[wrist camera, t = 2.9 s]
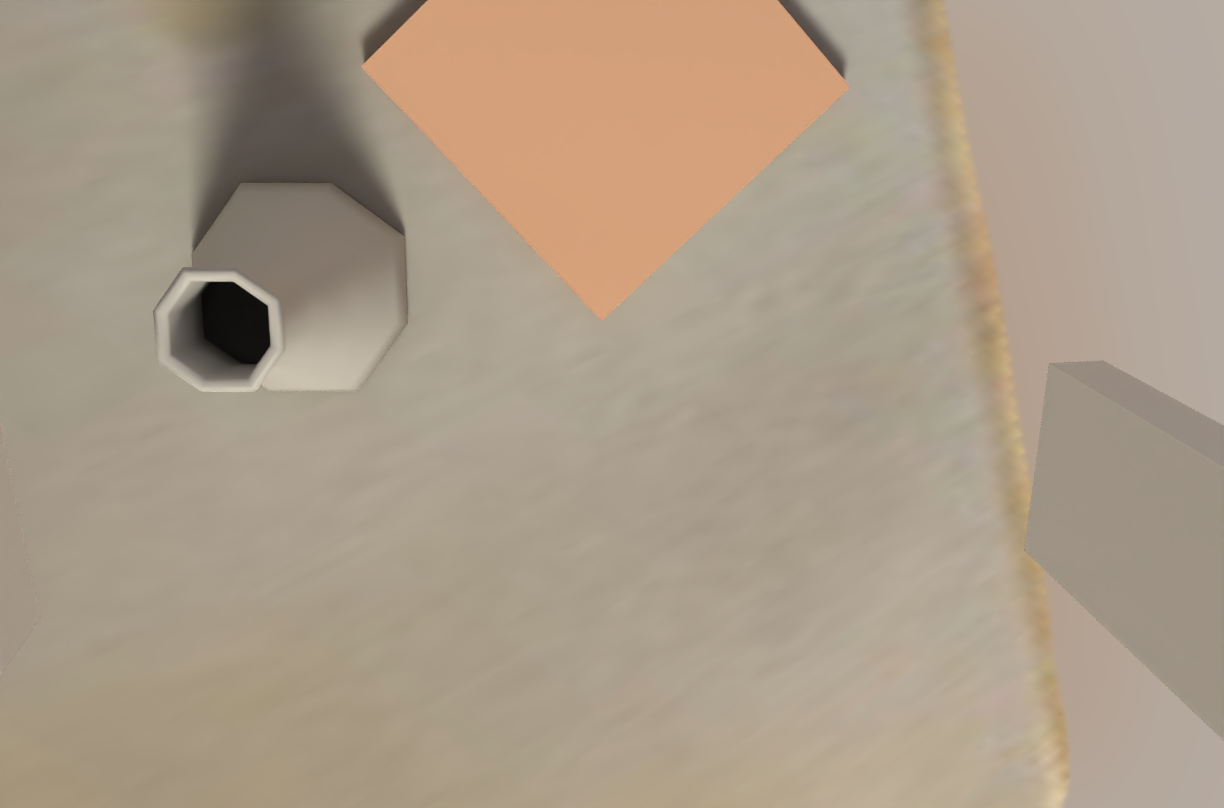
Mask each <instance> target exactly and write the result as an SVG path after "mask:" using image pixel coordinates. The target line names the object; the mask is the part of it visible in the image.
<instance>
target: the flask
mask: <svg viewBox="0 0 1224 808" xmlns="http://www.w3.org/2000/svg"><path fill="white" fill-rule="evenodd" d="M153 315H154V327H155V339H156V351H157V362H158V363H160V364H161V365H163V366H164V367H166V368H167V369H169V370H170V371H172V372H173V373H174V374H176V375H177V376H179V377H180V378H182V379H183V380H185V381H186V382H188V383H189V384H191V385H192V386H194V387H195V388H197V389H198V390H200V391H201V392H254V391H256V390H257V389H258V388H259V386H260V385H262V386H264V387H265V388H266V389H268V390H269V391H271V392H335V391H359V390H360V388H361V387H362V386H363V384H364V383H365V381H366V380H367V379H368V377H369V376H370V375H371V373H372V372H373V370H374V369H375V368H376V366H377V365H378V364H379V362H380V361H381V359H382V358H383V357H384V355H385V354H386V352H387V351H388V350H389V348H390V347H391V346H392V344H393V343H394V341H395V340H396V339H397V337H398V336H399V335H400V333H401V332H402V330H403V329H404V328H405V326H406V325H407V324H408V320H407V291H406V262H405V237H404V236H403V235H402V234H400V233H399V232H398V231H396V230H395V229H393V228H392V227H391V226H389V225H388V224H387V223H385V222H384V221H383V220H381V219H380V218H378V217H377V216H376V215H374V214H373V213H372V212H370V211H369V210H367V209H366V208H365V207H363V206H362V205H361V204H359V203H358V202H357V201H355V200H354V199H352V198H351V197H350V196H348V195H347V194H346V193H344V192H343V191H341V190H340V189H339V188H337V187H336V186H335V185H333V184H332V183H240V185H239V186H238V188H237V189H236V191H235V192H234V194H233V195H232V196H231V198H230V199H229V201H228V202H227V204H226V205H225V207H224V208H223V210H222V211H221V212H220V214H219V215H218V217H217V218H216V220H215V221H214V223H213V224H212V225H211V227H210V228H209V230H208V231H207V233H206V234H205V236H204V237H203V239H202V240H201V241H200V243H199V244H198V246H197V247H196V249H195V250H194V252H193V253H192V267H184V268H182V269H181V271H180V272H179V274H178V275H177V277H176V278H175V279H174V281H173V282H172V284H171V285H170V287H169V288H168V290H167V291H166V293H165V294H164V295H163V297H162V298H161V300H160V301H159V303H158V304H157V306H156V307H155V308H154V310H153Z"/></svg>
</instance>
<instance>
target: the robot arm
mask: <svg viewBox="0 0 1224 808" xmlns="http://www.w3.org/2000/svg"><path fill="white" fill-rule="evenodd" d="M1041 420H1042V421H1041V427H1040V435H1039V442H1038V451H1037V458H1036V465H1035V473H1034V480H1033V488H1032V496H1031V503H1030V511H1029V518H1028V526H1027V534H1026V541H1025V549H1024V551H1025V552H1026V553H1027V554H1028V555H1029V556H1030V557H1032V558H1033V559H1034V560H1035V561H1036V562H1037V563H1038V564H1039V565H1040V566H1041V567H1042V568H1043V569H1044V570H1045V571H1046V572H1047V573H1048V574H1049V575H1050V576H1052V577H1053V578H1054V579H1055V580H1056V581H1057V582H1058V583H1059V584H1060V585H1061V586H1062V587H1063V588H1064V589H1065V590H1066V591H1068V593H1069V594H1070V595H1071V596H1073V597H1074V598H1075V599H1076V600H1077V601H1078V602H1079V603H1080V604H1081V605H1082V606H1083V607H1084V608H1085V609H1086V610H1087V611H1088V612H1089V613H1090V614H1091V615H1092V616H1094V617H1095V618H1096V619H1097V620H1098V621H1099V622H1100V623H1101V624H1102V625H1103V626H1104V627H1105V628H1106V629H1107V630H1108V631H1109V632H1110V633H1111V634H1112V635H1114V636H1115V637H1116V638H1117V639H1118V640H1119V641H1120V642H1121V643H1122V644H1123V645H1124V646H1125V647H1126V648H1127V649H1128V650H1129V651H1130V652H1131V653H1132V654H1133V655H1134V656H1135V657H1137V658H1138V659H1139V660H1140V661H1141V662H1142V663H1143V664H1144V665H1145V666H1146V667H1147V668H1148V669H1149V670H1151V672H1152V673H1153V674H1154V675H1155V676H1157V677H1158V678H1159V679H1160V680H1161V681H1162V682H1163V683H1164V684H1165V685H1166V686H1167V687H1168V688H1169V689H1170V690H1171V691H1172V692H1173V693H1174V694H1175V695H1177V696H1178V697H1179V698H1180V699H1181V700H1182V701H1183V702H1184V703H1185V704H1186V705H1187V706H1188V707H1189V708H1190V709H1191V710H1192V711H1193V712H1194V713H1195V714H1196V715H1197V716H1198V717H1200V718H1201V719H1202V720H1203V721H1204V722H1205V723H1206V724H1207V725H1208V726H1209V727H1210V728H1211V729H1212V730H1213V731H1214V732H1215V733H1216V734H1217V735H1218V736H1220V737H1221V738H1222V739H1223V740H1224V426H1223V425H1221V424H1219V423H1218V422H1216V421H1214V420H1212V419H1210V418H1209V417H1207V416H1205V415H1203V414H1201V413H1199V412H1197V411H1195V410H1194V409H1192V408H1190V407H1188V406H1186V405H1184V404H1183V403H1181V402H1179V401H1177V400H1175V399H1173V398H1171V397H1170V396H1168V395H1166V394H1164V393H1162V392H1160V391H1158V390H1157V389H1155V388H1153V387H1151V386H1149V385H1147V384H1146V383H1144V382H1142V381H1140V380H1138V379H1136V378H1134V377H1133V376H1131V375H1129V374H1127V373H1125V372H1123V371H1121V370H1120V369H1118V368H1116V367H1114V366H1112V365H1110V364H1108V363H1107V362H1105V361H1086V362H1064V363H1049V366H1048V374H1047V381H1046V389H1045V396H1044V404H1043V412H1042V419H1041ZM39 619H40V613H39V608H38V603H37V599H36V594H35V589H34V584H33V579H32V574H31V569H30V564H29V559H28V554H27V550H26V545H25V540H24V535H23V530H22V525H21V520H20V515H19V510H18V505H17V501H16V496H15V491H14V486H13V481H12V476H11V471H10V466H9V461H8V456H7V451H6V447H5V442H4V437H3V432H2V427H1V422H0V675H1V674H2V673H3V671H4V670H5V668H6V667H7V665H8V664H9V663H10V661H11V660H12V658H13V657H14V655H15V654H16V652H17V651H18V650H19V648H20V647H21V645H22V644H23V642H24V641H25V639H26V638H27V637H28V635H29V634H30V632H31V631H32V629H33V628H34V626H35V625H36V624H37V622H38V621H39Z"/></svg>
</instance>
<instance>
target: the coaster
mask: <svg viewBox="0 0 1224 808" xmlns="http://www.w3.org/2000/svg"><path fill="white" fill-rule="evenodd" d="M361 67H362V68H363V69H364V70H365V71H366V73H367V74H368V75H369V76H370V77H371V78H372V79H373V80H374V81H375V82H376V83H377V84H378V85H379V86H380V87H381V88H382V89H383V90H384V92H385V93H386V94H387V95H388V96H389V97H390V98H391V99H392V100H393V101H394V102H395V103H396V104H397V105H398V106H399V107H400V108H401V109H402V111H403V112H404V113H405V114H406V115H407V116H408V117H409V118H410V119H411V120H412V121H413V122H414V123H415V124H416V125H417V126H418V127H419V128H420V130H421V131H422V132H423V133H424V134H425V135H426V136H427V137H428V138H429V139H430V140H431V141H432V142H433V143H434V144H435V145H436V146H437V147H438V149H439V150H440V151H441V152H442V153H443V154H444V155H445V156H446V157H447V158H448V159H449V160H450V161H451V162H452V163H453V164H454V165H455V166H456V168H457V169H458V170H459V171H460V172H461V173H462V174H463V175H464V176H465V177H466V178H467V179H468V180H469V181H470V182H471V183H472V184H473V185H474V187H475V188H476V189H477V190H478V191H479V192H480V193H481V194H482V195H483V196H484V197H485V198H486V199H487V200H488V201H489V202H490V203H491V204H492V206H493V207H494V208H495V209H496V210H497V211H498V212H499V213H500V214H501V215H502V216H503V217H504V218H505V219H506V220H507V221H508V222H509V223H510V225H511V226H512V227H513V228H514V229H515V230H516V231H517V232H518V233H519V234H520V235H521V236H522V237H523V238H524V239H525V240H526V241H527V242H528V244H529V245H530V246H531V247H532V248H533V249H534V250H535V251H536V252H537V253H538V254H539V255H540V256H541V257H542V258H543V259H544V260H545V261H546V263H547V264H548V265H549V266H550V267H551V268H552V269H553V270H554V271H555V272H556V273H557V274H558V275H559V276H560V277H561V278H562V279H563V280H564V282H565V283H566V284H567V285H568V286H569V287H570V288H571V289H572V290H573V291H574V292H575V293H576V294H577V295H578V296H579V297H580V298H581V299H582V301H583V302H584V303H585V304H586V305H587V306H588V307H589V308H590V309H591V310H592V311H593V312H594V313H595V314H596V315H597V316H598V317H599V318H600V320H601V321H602V320H603V319H604V318H605V317H606V316H607V315H608V314H609V313H610V312H611V311H613V310H614V309H615V308H616V307H617V306H618V305H619V304H620V303H621V302H622V301H623V300H624V299H625V298H626V297H627V296H629V295H630V294H631V293H632V292H633V291H634V290H635V289H636V288H637V287H638V286H639V285H640V284H641V283H642V282H643V281H644V280H646V279H647V278H648V277H649V276H650V275H651V274H652V273H653V272H654V271H655V270H656V269H657V268H658V267H659V266H660V265H661V264H663V263H664V262H665V261H666V260H667V259H668V258H669V257H670V256H671V255H672V254H673V253H674V252H675V251H676V250H677V249H679V248H680V247H681V246H682V245H683V244H684V243H685V242H686V241H687V240H688V239H689V238H690V237H691V236H692V235H693V234H694V233H696V232H697V231H698V230H699V229H700V228H701V227H702V226H703V225H704V224H705V223H706V222H707V221H708V220H709V219H710V218H711V217H713V216H714V215H715V214H716V213H717V212H718V211H719V210H720V209H721V208H722V207H723V206H724V205H725V204H726V203H727V202H729V201H730V200H731V199H732V198H733V197H734V196H735V195H736V194H737V193H738V192H739V191H740V190H741V189H742V188H743V187H744V186H746V185H747V184H748V183H749V182H750V181H751V180H752V179H753V178H754V177H755V176H756V175H757V174H758V173H759V172H760V171H761V170H763V169H764V168H765V167H766V166H767V165H768V164H769V163H770V162H771V161H772V160H773V159H774V158H775V157H776V156H777V155H779V154H780V153H781V152H782V151H783V150H784V149H785V148H786V147H787V146H788V145H789V144H790V143H791V142H792V141H793V140H794V139H796V138H797V137H798V136H799V135H800V134H801V133H802V132H803V131H804V130H805V129H806V128H807V127H808V126H809V125H810V124H811V123H813V122H814V121H815V120H816V119H817V118H818V117H819V116H820V115H821V114H822V113H823V112H824V111H825V110H826V109H827V108H829V107H830V106H831V105H832V104H833V103H834V102H835V101H836V100H837V99H838V98H839V97H840V96H841V95H842V94H843V93H844V92H846V91H847V90H848V89H849V88H850V86H849V85H848V83H847V82H846V81H845V80H844V79H843V77H842V76H841V75H840V74H839V73H838V71H837V70H836V69H835V68H834V67H833V66H832V64H831V63H830V62H829V61H828V60H827V58H826V57H825V56H824V55H823V54H822V52H821V51H820V50H819V49H818V48H817V46H816V45H815V44H814V43H813V42H812V40H811V39H810V38H809V37H808V36H807V35H806V33H805V32H804V31H803V30H802V29H801V27H800V26H799V25H798V24H797V23H796V21H795V20H794V19H793V18H792V17H791V15H790V14H789V13H788V12H787V11H786V9H785V8H784V7H783V6H782V5H781V4H780V2H779V1H778V0H427V1H426V2H425V3H424V4H423V5H422V6H421V7H420V8H419V9H418V10H417V11H416V12H415V13H414V14H413V15H412V16H411V17H410V18H409V19H408V20H407V21H406V22H405V23H404V24H403V25H402V26H401V27H400V28H399V29H398V30H397V31H396V32H395V33H394V34H393V35H392V36H391V37H390V38H389V39H388V40H387V41H386V42H385V43H384V44H383V45H382V46H381V47H380V48H379V49H378V50H377V51H376V52H375V53H374V54H373V55H372V56H371V57H370V58H369V59H368V60H367V61H366V62H365V63H364V64H363V65H362V66H361Z"/></svg>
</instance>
